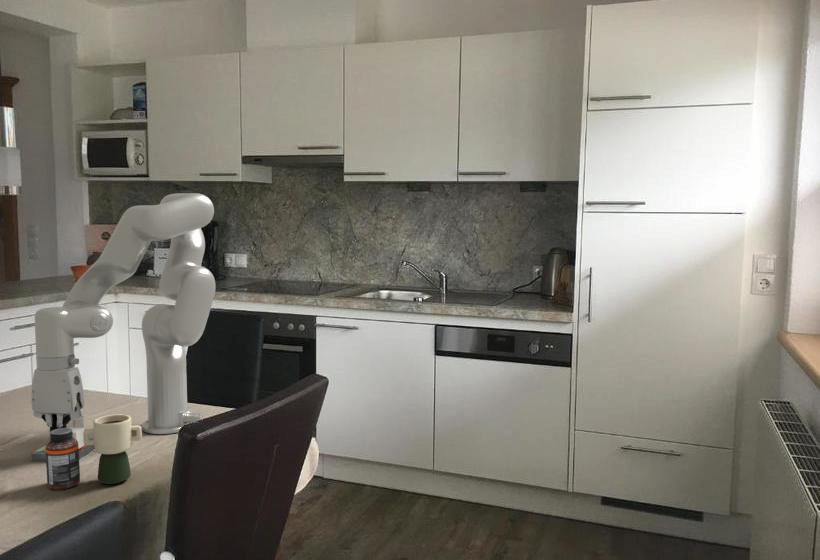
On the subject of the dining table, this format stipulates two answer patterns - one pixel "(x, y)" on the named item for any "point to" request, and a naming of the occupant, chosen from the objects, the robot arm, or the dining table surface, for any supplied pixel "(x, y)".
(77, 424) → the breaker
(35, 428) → the dining table surface
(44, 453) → the panel
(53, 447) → the supplement bottle
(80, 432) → the block
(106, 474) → the character mug
